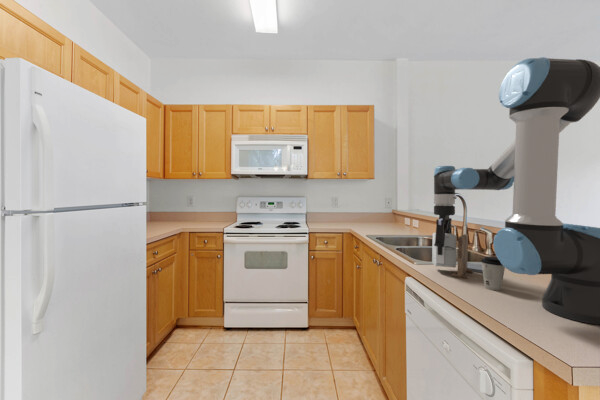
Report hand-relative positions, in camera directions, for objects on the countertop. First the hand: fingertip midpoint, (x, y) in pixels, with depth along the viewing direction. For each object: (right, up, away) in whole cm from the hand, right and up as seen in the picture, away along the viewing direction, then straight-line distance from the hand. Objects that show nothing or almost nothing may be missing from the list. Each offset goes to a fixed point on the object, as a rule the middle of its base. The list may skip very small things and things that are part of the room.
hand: (443, 261), depth 116 cm
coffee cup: (+6, -5, -20) cm, 22 cm away
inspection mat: (+16, -4, +3) cm, 17 cm away
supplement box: (0, -2, 0) cm, 2 cm away
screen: (+5, -4, -4) cm, 8 cm away
